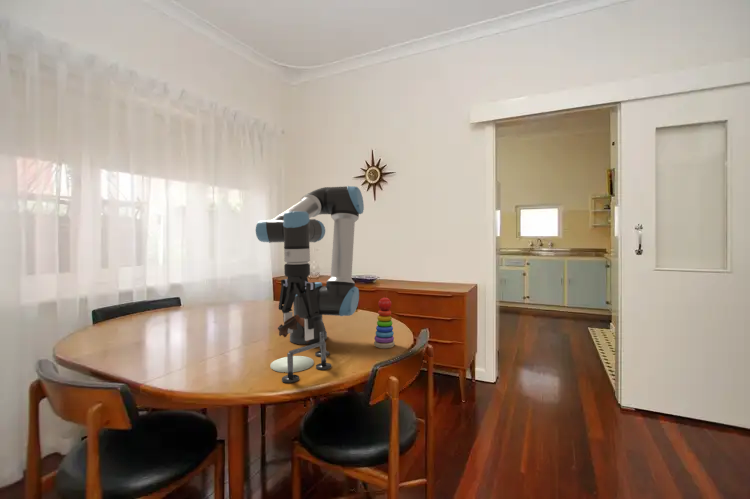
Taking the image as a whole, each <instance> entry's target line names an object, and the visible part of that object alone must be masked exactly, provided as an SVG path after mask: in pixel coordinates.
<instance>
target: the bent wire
mask: <svg viewBox="0 0 750 499" xmlns="http://www.w3.org/2000/svg"><path fill="white" fill-rule="evenodd" d="M318 347H319V350H317V351H316V352H315V353H314V354H315V355H314V356H315V357H318V358H319V357H320V359H321V360H320V362H321V363H317V364H316V365H315V369H316V370H317V371H326V370H327V371H328V370H331V368H332V363H329V362H327V357H328V356H329V355H330V351H328V350H327V342H326V340H325V339H324V332H323V331H321V332H320V342H318V343H314V344H307V345H305V346H302V347H299V348H295V349H292V350H288V352H287V356H286V357H287V364H288V373H287V375H284V376H282V377H281V382H282V383H284V384H292V383H293V384H294V383H297V382H298V381H299V380H300V376H299V375H298V374H294V372H293V356H294V355H296V354H300V353H302V352H306V351H309V350H312V349H313V350H314V349H315V348H318Z"/></svg>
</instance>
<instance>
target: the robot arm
mask: <svg viewBox="0 0 750 499" xmlns="http://www.w3.org/2000/svg"><path fill="white" fill-rule="evenodd" d="M362 194H363V193H362V191H361V190H360V188H359V187H358V186H349V185H347V186H345V185H344V186H326V187H325V186H324V187H320V188H317V189H315V190H312V191H310V192H308V193H307V194H305V195H303V196H302V197H301V198H300V200H299V202H297V203H295V204H294V205H292V206H290V208H288V209H286V210H285V211H283V212H282V213H280V214H278V215H277V216H275V217H274V218H272V219H264V220H263V219H261V220H259V221H258V222H256V226H255V235H256V238H257V240H258V241H259V242H262V243H269V244H272V243H283V250H284V252H283V253H284V254H283V256H284V259H283V260H284V263H285V264H284V266H283V268H284V269H283V270H284V277H287V278H285V279H284V278H283V279H281V280H280V286H281V288H280V295H279V301H278V310H279V311H281V312H282V315H283V316H282V317H283V319H282V320H283V323H284V322H285V321H287V320H288V319H290V318H291V317H293V316H295V315H299V317H300V318H303V317H304V316H306V317H305V318H304V321H305V333H304V331H303V328H302V326H301V325H300V324H299V323H297V328H298V329H297V330H291V329H289V328H288V335H289V342H290V343H293V344H297V345H311V344H315V343H318V342H320V332H321V331H323V332H324V339H325V341H326V340H327V339H328V334H327V330H326V327H325V323H324V319H323V316H335V317H337V316H338V317H348V316H349V317H350V316H353V314H354V313H355V312H356V310H357V307H358V305H359V301H360V290H359V287H357V286H356V283H355V281H354V280H353V279H352V275H353V258H354V257H353V256H354V244H355V243H354V239H355V227H356V226H355V225H356V224H355V223H356V222H357V221H358V220H359V217H360V215H361V214H363V213H364V210H365V207H364V206H365V205H364V198H363V195H362ZM318 215H330V217H331V219H332V220H333V221H334V223H333V237H332V250H331V263H330V264H331V265H330V266H331V267H330V277H329V278H328V279H327V280H326V283H325V284H326V285H323V283H322V282H320V281H319V282H318V281H317V282H314V281H313V282H310V281H309V280H308V279H309V278H308V276H310V275H311V264H310V261H311V255H310V254H311V253H310V252H311V250H310V248H311V247H310V243H317V242H320V241H321V240H323V238H324V237H325V235H326V227H325V224H324V223H323V222H322V221H320V220H319V219H318V220H317V219H316V218H314V217H317V216H318ZM292 307H293V309H292ZM304 335H305V337H304ZM308 340H310V341H308ZM306 341H308V342H306Z"/></svg>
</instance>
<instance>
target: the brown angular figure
mask: <svg viewBox="0 0 750 499" xmlns="http://www.w3.org/2000/svg"><path fill="white" fill-rule="evenodd" d="M305 317H306V316H304V317H303V318H300V317H299V315H295V316H294V315H293V317H291V318H290V319H288V320H287V321H285V322H284V321H283V324H279V326H278V327H277V330H278V331H279V333H278V336H279V337H281V336H282V337H284V338H287V336H288V335H289V334H288V328H289V329H291V330H297V329H298V328H297V323H299V324H300V325H301V326H302V328H303V331H304V333H305V321H304V318H305ZM304 337H305V335H304ZM308 341H310V340H308ZM308 341H306V342H308Z"/></svg>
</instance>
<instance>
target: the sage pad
mask: <svg viewBox="0 0 750 499" xmlns="http://www.w3.org/2000/svg"><path fill="white" fill-rule="evenodd" d="M314 364H315V362H314V359H313V358H311V357H308V356H305V355H304V356H302V355H293V373H297V372H298V373H299V372H302V371H306V370H308V369H310V368H312V367H313V366H314ZM269 365H270V369H271V370H272V369H273V370H272V371H275V372H277V373H284V372H285V374H286V373H287V374H288V364H287V356H285V357H281V358H278V359H275V360H274V361H272V362H270V364H269Z"/></svg>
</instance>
